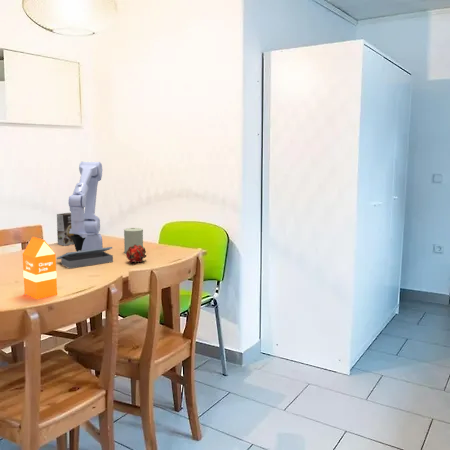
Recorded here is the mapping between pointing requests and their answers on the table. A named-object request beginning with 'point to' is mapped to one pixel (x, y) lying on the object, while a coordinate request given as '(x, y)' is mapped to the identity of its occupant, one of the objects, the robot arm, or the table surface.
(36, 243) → the orange juice
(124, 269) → the table surface
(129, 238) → the can
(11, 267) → the table surface
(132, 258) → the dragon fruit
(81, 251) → the lid
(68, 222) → the coffee box
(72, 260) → the grey hinged box
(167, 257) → the table surface
